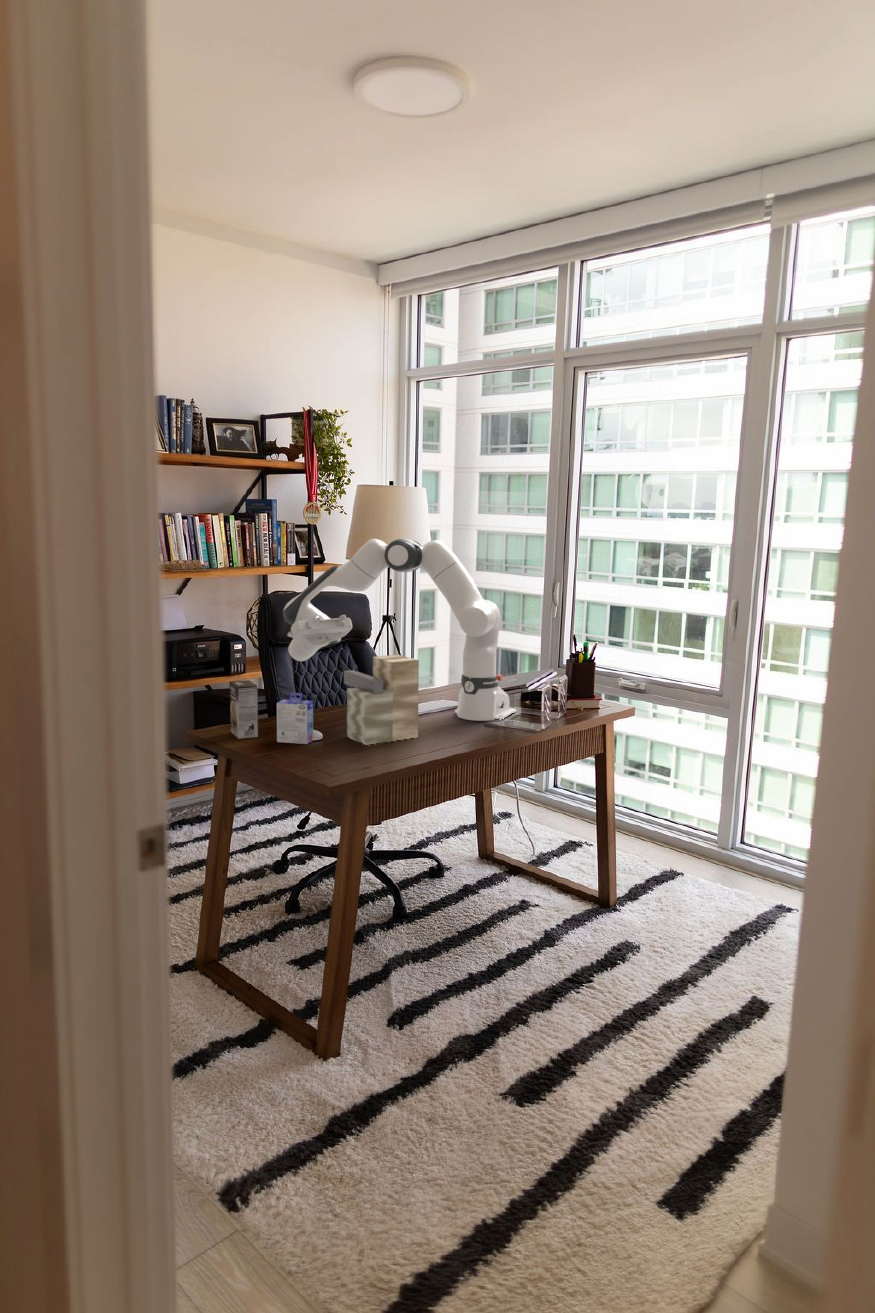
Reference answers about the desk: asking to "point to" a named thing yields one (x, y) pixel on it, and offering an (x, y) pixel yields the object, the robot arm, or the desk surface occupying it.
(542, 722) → the desk surface
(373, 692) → the bar
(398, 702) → the stepped stand
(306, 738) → the ink cartridge box
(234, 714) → the coffee box
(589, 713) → the desk surface
